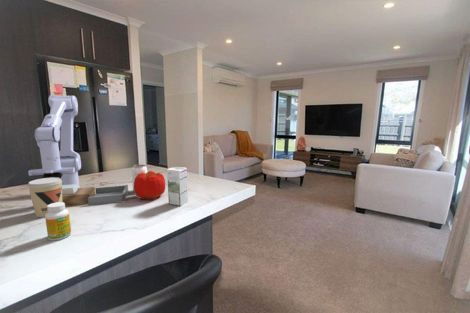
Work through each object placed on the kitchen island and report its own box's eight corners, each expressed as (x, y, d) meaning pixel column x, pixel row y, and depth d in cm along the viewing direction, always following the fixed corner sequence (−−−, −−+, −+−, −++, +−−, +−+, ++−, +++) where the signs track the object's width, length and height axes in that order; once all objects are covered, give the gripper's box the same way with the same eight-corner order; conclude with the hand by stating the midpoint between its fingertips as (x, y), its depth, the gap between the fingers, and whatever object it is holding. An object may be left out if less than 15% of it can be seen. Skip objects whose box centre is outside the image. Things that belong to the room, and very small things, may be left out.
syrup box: (188, 201, 96) (187, 167, 93) (180, 206, 90) (179, 170, 88) (176, 199, 97) (175, 166, 95) (168, 204, 92) (166, 169, 89)
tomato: (162, 201, 95) (160, 177, 93) (128, 202, 94) (127, 177, 92) (169, 191, 108) (168, 169, 107) (140, 191, 108) (138, 169, 106)
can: (143, 193, 105) (141, 167, 103) (130, 192, 107) (128, 166, 105) (150, 189, 112) (149, 164, 110) (138, 188, 113) (137, 164, 111)
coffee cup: (38, 220, 77) (33, 185, 75) (28, 214, 82) (23, 181, 80) (70, 211, 85) (66, 179, 83) (58, 206, 90) (54, 175, 88)
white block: (57, 195, 91) (56, 189, 90) (62, 190, 96) (61, 185, 95) (73, 193, 92) (73, 187, 92) (77, 189, 98) (77, 184, 97)
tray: (88, 205, 91) (88, 197, 91) (96, 194, 104) (95, 187, 104) (125, 201, 95) (124, 194, 95) (128, 191, 108) (127, 184, 108)
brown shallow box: (50, 207, 89) (49, 197, 88) (60, 198, 98) (59, 189, 97) (90, 203, 93) (89, 193, 92) (95, 195, 102) (94, 186, 102)
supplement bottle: (59, 241, 64) (55, 208, 63) (43, 240, 65) (38, 207, 64) (75, 232, 70) (72, 201, 68) (60, 231, 70) (56, 200, 69)
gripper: (22, 160, 84) (27, 196, 86) (69, 158, 89) (73, 192, 91) (31, 157, 91) (36, 191, 93) (74, 155, 95) (78, 187, 98)
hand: (55, 191), depth 93 cm, fingers closed
